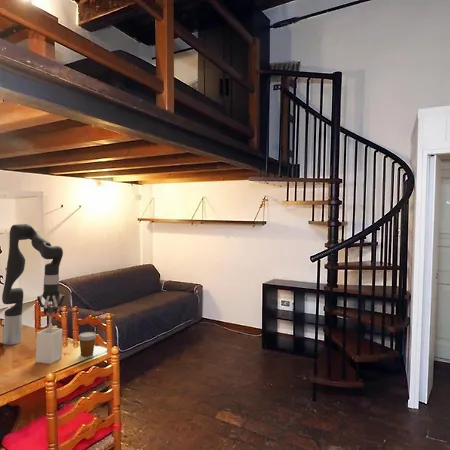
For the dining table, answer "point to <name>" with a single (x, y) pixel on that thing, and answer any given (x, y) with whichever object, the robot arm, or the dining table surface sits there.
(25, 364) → the dining table surface
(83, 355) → the disposable coffee cup
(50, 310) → the plunger
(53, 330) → the grey rectangular box
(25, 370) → the dining table surface
